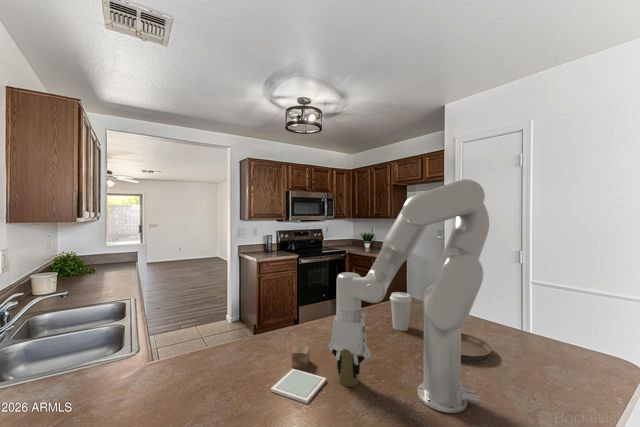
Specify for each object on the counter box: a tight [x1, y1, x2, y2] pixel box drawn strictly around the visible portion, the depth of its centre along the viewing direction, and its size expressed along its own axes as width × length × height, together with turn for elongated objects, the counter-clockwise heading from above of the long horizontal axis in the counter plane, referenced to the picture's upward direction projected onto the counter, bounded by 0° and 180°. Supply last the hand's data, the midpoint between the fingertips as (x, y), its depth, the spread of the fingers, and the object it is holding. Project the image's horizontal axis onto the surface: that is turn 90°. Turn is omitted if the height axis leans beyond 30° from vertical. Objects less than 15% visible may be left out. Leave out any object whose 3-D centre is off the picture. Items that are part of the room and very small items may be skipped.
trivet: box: [270, 368, 327, 405], centre depth 86 cm, size 12×12×1 cm
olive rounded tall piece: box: [338, 349, 359, 388], centre depth 88 cm, size 6×6×11 cm
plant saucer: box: [461, 332, 492, 362], centre depth 109 cm, size 21×21×3 cm
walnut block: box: [291, 345, 310, 369], centre depth 98 cm, size 5×5×5 cm
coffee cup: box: [389, 291, 412, 332], centre depth 129 cm, size 10×10×15 cm
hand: (348, 373), depth 88 cm, fingers closed on olive rounded tall piece, 4 cm apart
